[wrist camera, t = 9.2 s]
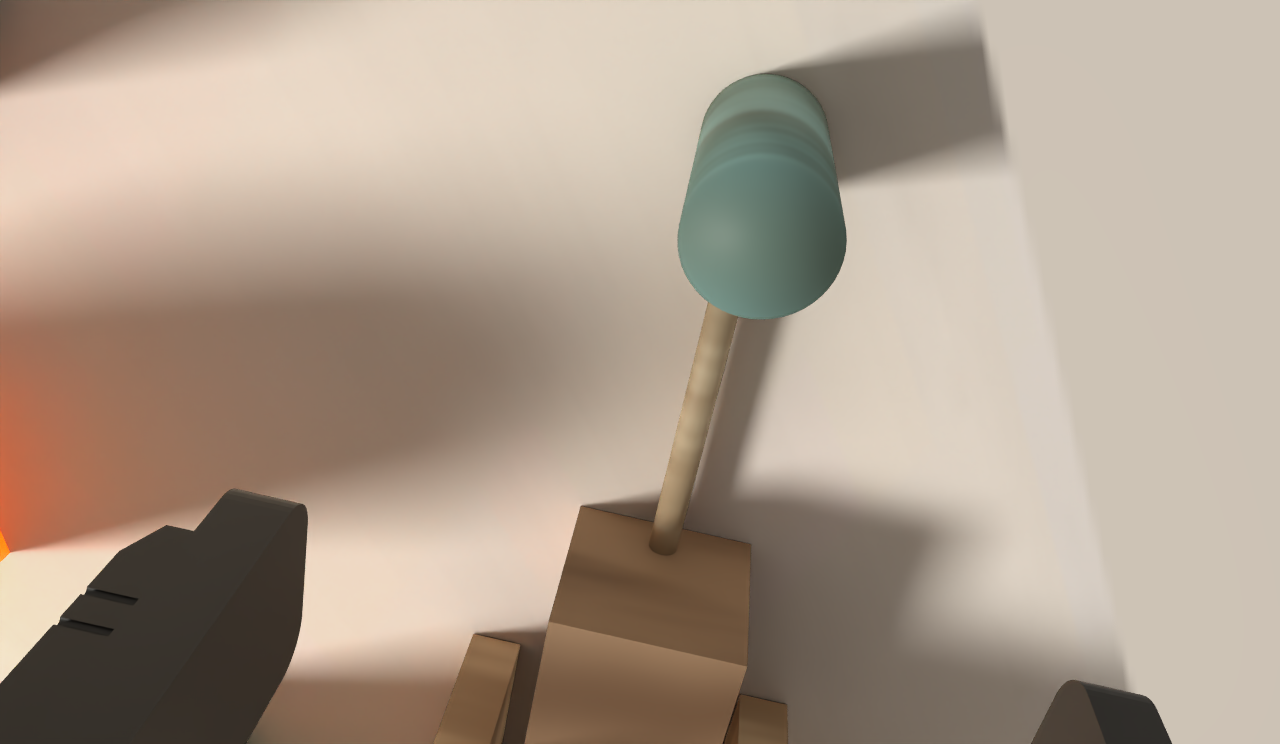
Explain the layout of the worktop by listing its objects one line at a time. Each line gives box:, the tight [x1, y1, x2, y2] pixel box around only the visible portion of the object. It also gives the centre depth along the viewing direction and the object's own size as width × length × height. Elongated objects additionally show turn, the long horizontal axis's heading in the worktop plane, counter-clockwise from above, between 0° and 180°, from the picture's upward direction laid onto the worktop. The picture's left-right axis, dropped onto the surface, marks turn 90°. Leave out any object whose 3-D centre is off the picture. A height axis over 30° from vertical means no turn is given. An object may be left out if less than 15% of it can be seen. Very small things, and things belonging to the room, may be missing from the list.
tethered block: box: [524, 74, 847, 744], centre depth 26 cm, size 18×5×7 cm, turn 169°
